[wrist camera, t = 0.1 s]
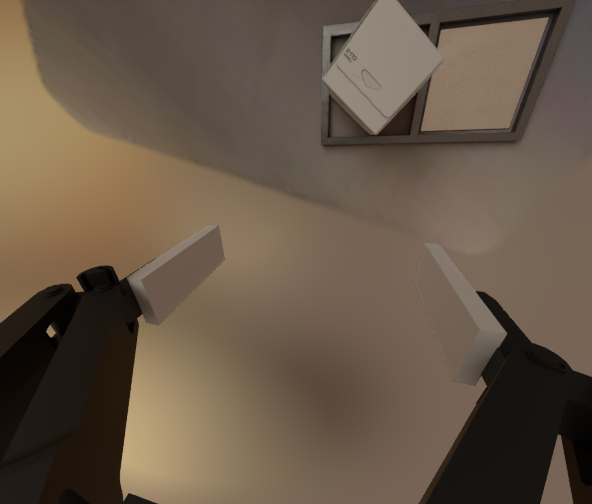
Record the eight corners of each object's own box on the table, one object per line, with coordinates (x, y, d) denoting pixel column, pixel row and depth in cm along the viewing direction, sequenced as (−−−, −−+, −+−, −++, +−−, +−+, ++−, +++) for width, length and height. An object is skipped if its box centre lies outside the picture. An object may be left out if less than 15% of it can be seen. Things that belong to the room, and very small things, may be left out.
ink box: (418, 82, 31) (450, 58, 20) (369, 136, 35) (376, 139, 25) (374, 32, 29) (385, -19, 19) (329, 95, 34) (318, 80, 23)
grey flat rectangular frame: (324, 29, 30) (323, 26, 29) (571, -3, 25) (578, -8, 24) (321, 144, 37) (320, 144, 36) (516, 140, 31) (520, 140, 30)
